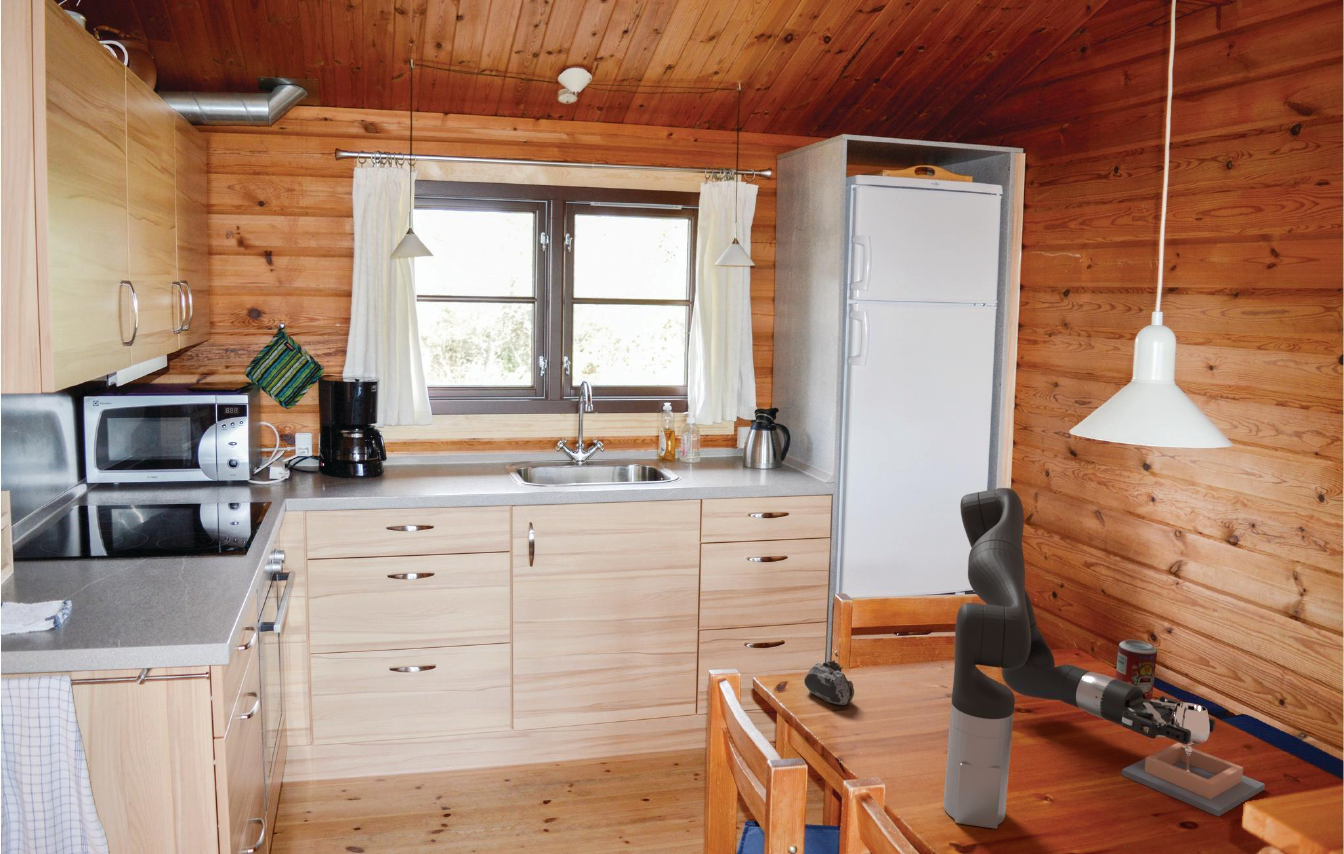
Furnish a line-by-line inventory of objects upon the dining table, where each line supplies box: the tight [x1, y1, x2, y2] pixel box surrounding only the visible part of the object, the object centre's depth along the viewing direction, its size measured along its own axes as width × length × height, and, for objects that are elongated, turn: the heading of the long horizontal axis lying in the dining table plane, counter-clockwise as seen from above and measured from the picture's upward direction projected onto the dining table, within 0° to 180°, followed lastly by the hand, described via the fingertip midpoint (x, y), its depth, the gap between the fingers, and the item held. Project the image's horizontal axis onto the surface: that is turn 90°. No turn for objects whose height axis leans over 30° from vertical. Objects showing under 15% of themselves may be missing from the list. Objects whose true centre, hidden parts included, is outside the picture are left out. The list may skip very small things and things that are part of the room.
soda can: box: [1114, 638, 1158, 700], centre depth 198 cm, size 7×7×12 cm
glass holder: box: [1121, 742, 1266, 817], centre depth 165 cm, size 16×16×4 cm
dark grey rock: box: [803, 660, 855, 706], centre depth 195 cm, size 12×7×10 cm
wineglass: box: [1170, 702, 1211, 772], centre depth 164 cm, size 6×6×12 cm
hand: (1202, 732), depth 164 cm, fingers open, 8 cm apart
